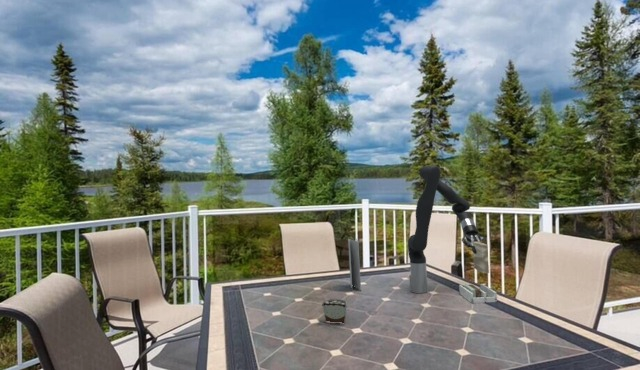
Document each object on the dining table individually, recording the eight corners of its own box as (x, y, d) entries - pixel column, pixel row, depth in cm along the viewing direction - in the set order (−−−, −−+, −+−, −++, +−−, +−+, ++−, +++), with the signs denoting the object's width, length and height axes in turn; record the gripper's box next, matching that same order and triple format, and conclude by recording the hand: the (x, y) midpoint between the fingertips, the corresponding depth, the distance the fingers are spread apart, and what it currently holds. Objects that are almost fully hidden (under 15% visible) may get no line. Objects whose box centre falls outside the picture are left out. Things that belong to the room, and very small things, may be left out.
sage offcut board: (472, 301, 197) (471, 289, 197) (464, 295, 207) (464, 284, 207) (476, 301, 197) (475, 289, 197) (468, 295, 207) (467, 284, 207)
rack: (471, 303, 194) (471, 293, 194) (459, 293, 211) (459, 284, 211) (496, 301, 194) (496, 292, 194) (482, 292, 211) (482, 283, 211)
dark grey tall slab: (361, 290, 226) (358, 241, 226) (351, 291, 226) (349, 242, 226) (359, 284, 240) (356, 238, 240) (350, 285, 240) (348, 238, 240)
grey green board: (483, 273, 197) (481, 245, 197) (474, 268, 209) (472, 241, 209) (488, 273, 197) (487, 244, 197) (479, 267, 209) (478, 241, 209)
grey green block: (476, 301, 197) (476, 289, 197) (469, 295, 207) (468, 284, 207) (480, 300, 197) (479, 289, 197) (472, 295, 207) (472, 284, 207)
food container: (351, 320, 178) (350, 299, 178) (347, 324, 172) (346, 303, 172) (326, 318, 182) (325, 298, 182) (322, 322, 176) (321, 301, 176)
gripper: (458, 224, 215) (467, 249, 203) (482, 223, 215) (493, 248, 202) (455, 232, 220) (464, 257, 208) (479, 231, 220) (489, 255, 208)
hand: (478, 252), depth 205 cm, fingers closed on grey green board, 3 cm apart
